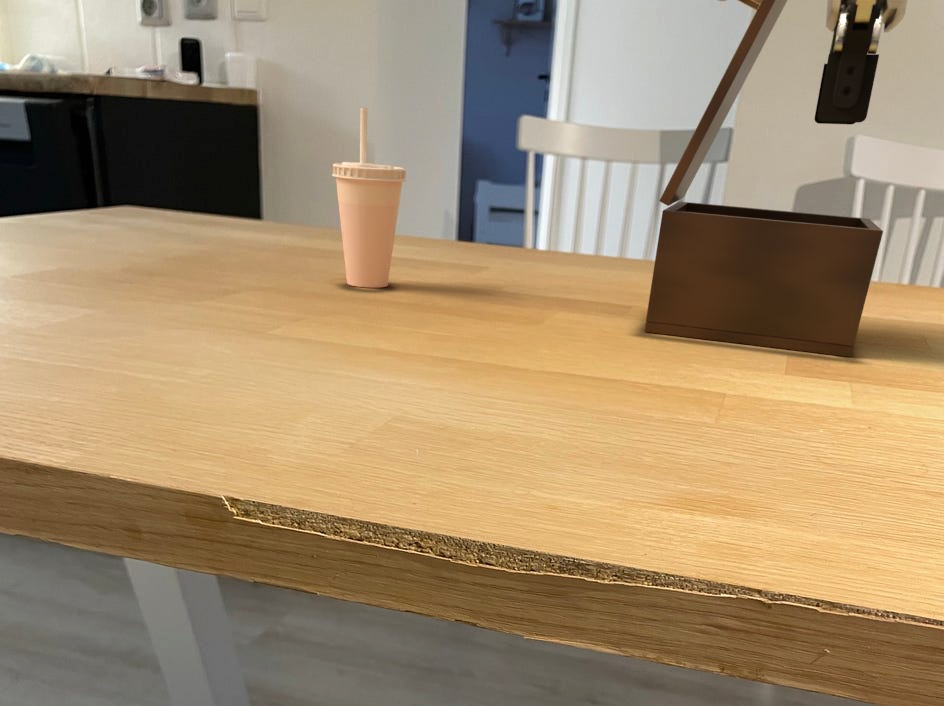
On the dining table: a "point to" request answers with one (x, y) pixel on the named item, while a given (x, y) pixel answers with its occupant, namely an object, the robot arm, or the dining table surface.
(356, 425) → the dining table surface
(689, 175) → the lid
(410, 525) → the dining table surface
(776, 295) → the chest
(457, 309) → the dining table surface
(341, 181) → the smoothie
